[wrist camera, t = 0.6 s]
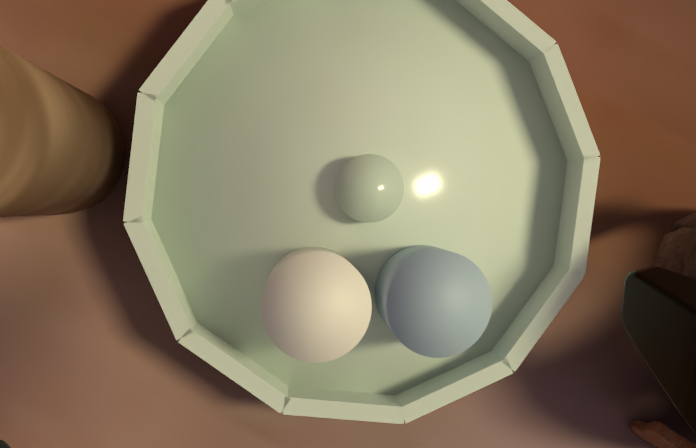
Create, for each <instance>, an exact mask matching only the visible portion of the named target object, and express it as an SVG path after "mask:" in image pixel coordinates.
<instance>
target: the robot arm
mask: <svg viewBox="0 0 696 448" xmlns="http://www.w3.org/2000/svg"><path fill="white" fill-rule="evenodd" d="M621 319H622V323H623V326H624V328H625V330H626V332H627V334H628V335H629V337H630V338H631V340H632V341H633V343H634V344H635V346H636V347H637V349H638V350H639V352H640V354H641V355H642V357H643V358H644V360H645V361H646V363H647V364H648V366H649V367H650V369H651V370H652V372H653V374H654V375H655V377H656V378H657V380H658V381H659V383H660V384H661V386H662V387H663V389H664V390H665V392H666V394H667V395H668V397H669V398H670V400H671V401H672V403H673V404H674V406H675V407H676V409H677V410H678V411H679V413H680V414H681V416H682V417H683V419H684V420H685V421H686V422H687V424H688V425H689V426H690V428H691V429H692V430H693V432H694V433H695V434H696V278H693V277H690V276H687V275H684V274H681V273H677V272H674V271H671V270H668V269H665V268H662V267H658V266H650V267H646V268H642V269H639V270H635V271H632V272H630V273H628V275H627V276H626V278H625V284H624V292H623V301H622V310H621ZM0 448H10V447H9V445H8V444H7V443H6V442H4V441H2V440H0Z"/></svg>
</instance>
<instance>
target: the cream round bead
mask: <svg viewBox="0 0 696 448" xmlns="http://www.w3.org/2000/svg"><path fill="white" fill-rule="evenodd" d="M371 312H372V302H371V295H370V291H369V288H368V286H367V284H366V282H365V280H364V278H363V277H362V275H361V274H360V272H359V271H358V270H357V269H356V268H355V267H354V266H353V265H352V264H351V263H350V262H349V261H348V260H346V259H345V258H344V257H343V256H341V255H340V254H338V253H337V252H335V251H332V250H330V249H327V248H322V247H305V248H301V249H298V250H295V251H293V252H291V253H289V254H287V255H286V256H284V257H283V258H282V259H281V260H280V261H279V262H278V263H277V264H276V265H275V266H274V268H273V269H272V271H271V272H270V274H269V276H268V279H267V282H266V285H265V289H264V293H263V297H262V302H261V314H262V320H263V325H264V327H265V330H266V332H267V334H268V336H269V338H270V339H271V340H272V342H273V343H274V344H275V345H276V346H277V347H278V348H279V349H280V350H281V351H282V352H283V353H285V354H287V355H288V356H290V357H292V358H294V359H297V360H300V361H304V362H310V363H320V362H327V361H331V360H334V359H337V358H339V357H341V356H343V355H345V354H346V353H348V352H349V351H350V350H352V349H353V348H354V347H355V346H356V345H357V344H358V343H359V341H360V340H361V339H362V337H363V336H364V334H365V332H366V330H367V328H368V325H369V322H370V318H371Z"/></svg>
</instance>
